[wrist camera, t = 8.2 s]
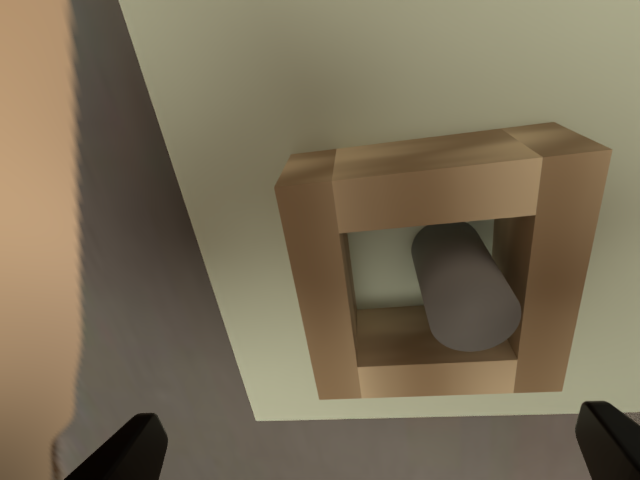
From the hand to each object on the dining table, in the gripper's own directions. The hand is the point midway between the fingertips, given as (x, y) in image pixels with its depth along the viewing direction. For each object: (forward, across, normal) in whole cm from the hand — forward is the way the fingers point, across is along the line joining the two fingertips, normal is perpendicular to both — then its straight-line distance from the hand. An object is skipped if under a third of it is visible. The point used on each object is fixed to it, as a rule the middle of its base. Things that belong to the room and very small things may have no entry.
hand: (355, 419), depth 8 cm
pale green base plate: (+8, -3, 0) cm, 9 cm away
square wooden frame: (+7, -2, 0) cm, 7 cm away
